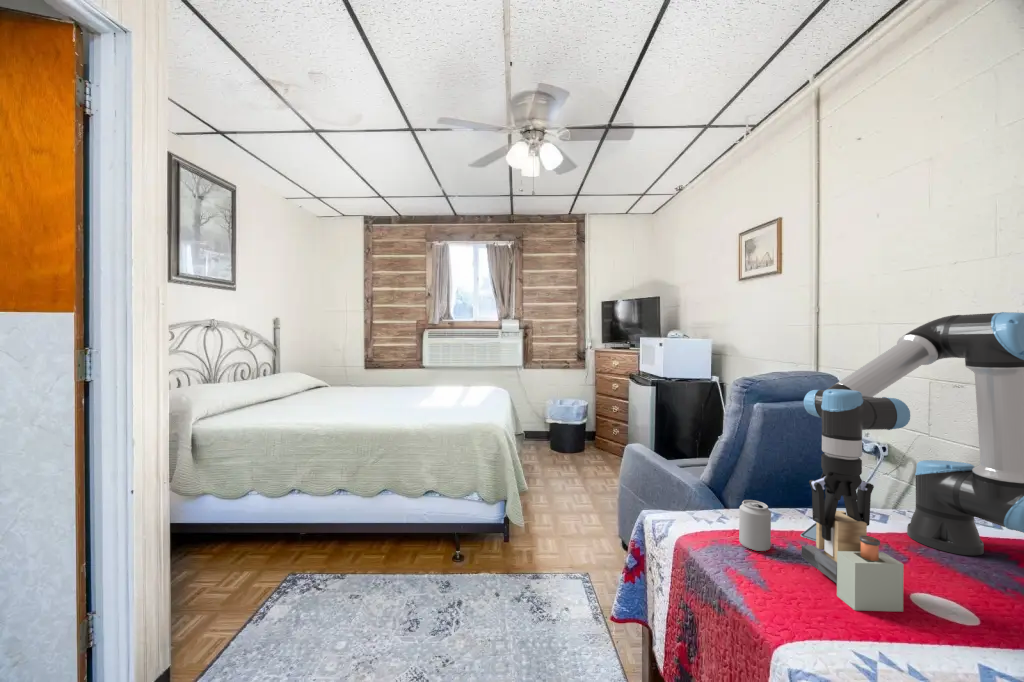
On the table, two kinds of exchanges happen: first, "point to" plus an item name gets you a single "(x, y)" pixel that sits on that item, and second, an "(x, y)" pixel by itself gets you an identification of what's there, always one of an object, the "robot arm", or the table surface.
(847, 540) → the carriage
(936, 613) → the table surface
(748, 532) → the can
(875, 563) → the grey hollow block
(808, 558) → the rail
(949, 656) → the table surface
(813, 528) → the smartphone
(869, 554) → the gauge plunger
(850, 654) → the table surface
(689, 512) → the table surface
